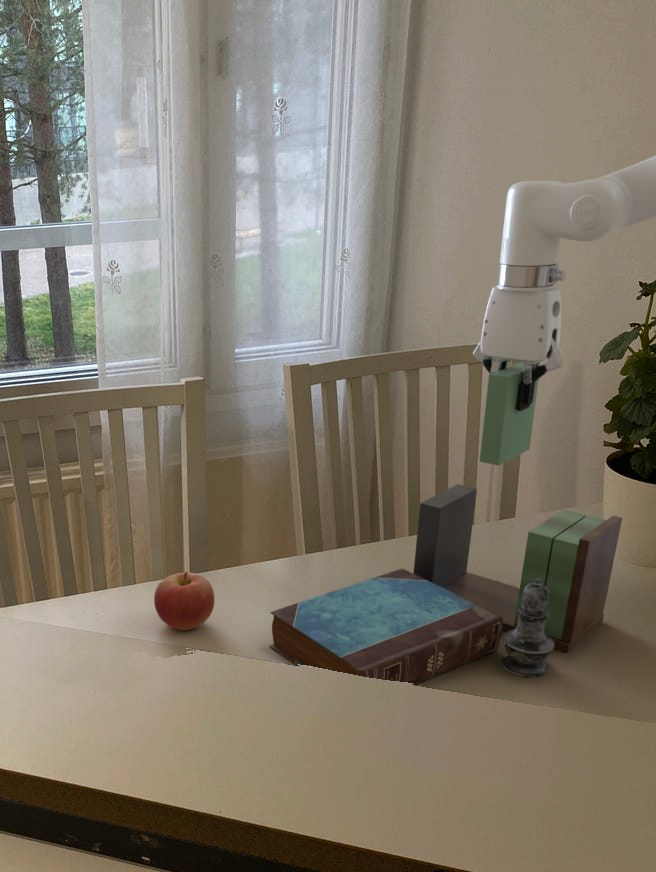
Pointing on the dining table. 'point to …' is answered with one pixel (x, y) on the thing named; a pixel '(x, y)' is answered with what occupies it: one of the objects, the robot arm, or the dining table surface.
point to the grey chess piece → (529, 635)
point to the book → (386, 629)
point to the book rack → (544, 557)
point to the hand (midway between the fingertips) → (510, 405)
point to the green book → (506, 417)
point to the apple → (184, 600)
